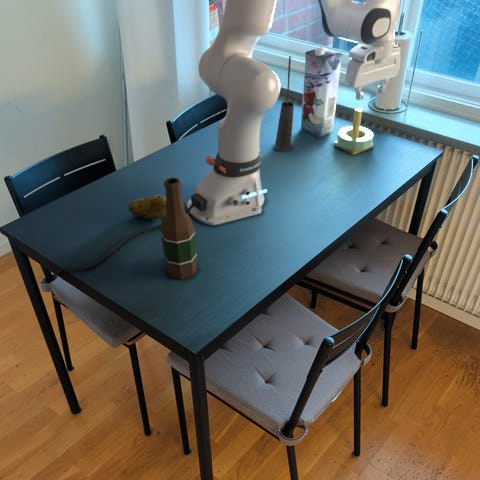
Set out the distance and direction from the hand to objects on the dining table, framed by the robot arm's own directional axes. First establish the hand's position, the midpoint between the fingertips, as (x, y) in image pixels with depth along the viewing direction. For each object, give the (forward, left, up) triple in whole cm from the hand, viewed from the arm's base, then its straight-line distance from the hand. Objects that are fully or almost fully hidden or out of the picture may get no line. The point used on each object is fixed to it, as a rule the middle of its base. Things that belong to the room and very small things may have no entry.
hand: (369, 95), depth 166 cm
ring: (-4, 0, -14) cm, 15 cm away
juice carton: (-6, +16, -16) cm, 23 cm away
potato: (-79, +1, -16) cm, 81 cm away
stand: (-4, 0, -16) cm, 16 cm away
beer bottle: (-84, -23, -16) cm, 89 cm away
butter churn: (-24, +12, -16) cm, 31 cm away
